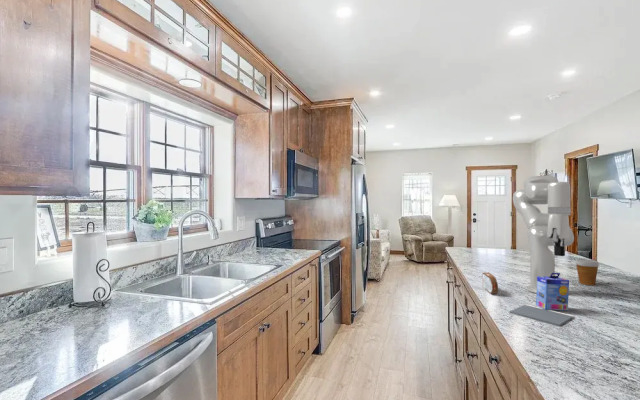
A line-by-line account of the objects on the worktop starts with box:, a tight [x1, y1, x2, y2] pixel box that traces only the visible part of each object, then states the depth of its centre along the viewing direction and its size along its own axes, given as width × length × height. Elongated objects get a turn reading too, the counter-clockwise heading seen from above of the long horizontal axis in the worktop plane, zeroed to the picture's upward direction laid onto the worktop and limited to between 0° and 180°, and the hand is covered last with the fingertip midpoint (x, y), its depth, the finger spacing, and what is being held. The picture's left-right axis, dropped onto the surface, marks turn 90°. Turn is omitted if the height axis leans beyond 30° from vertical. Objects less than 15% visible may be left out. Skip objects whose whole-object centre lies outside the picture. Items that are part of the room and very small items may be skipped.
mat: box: [509, 304, 574, 327], centre depth 117 cm, size 14×16×1 cm
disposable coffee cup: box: [574, 259, 600, 286], centre depth 161 cm, size 10×10×12 cm
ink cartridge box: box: [535, 272, 570, 311], centre depth 124 cm, size 10×6×14 cm, turn 95°
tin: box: [481, 271, 499, 295], centre depth 149 cm, size 15×3×8 cm, turn 168°
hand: (559, 255), depth 128 cm, fingers closed
